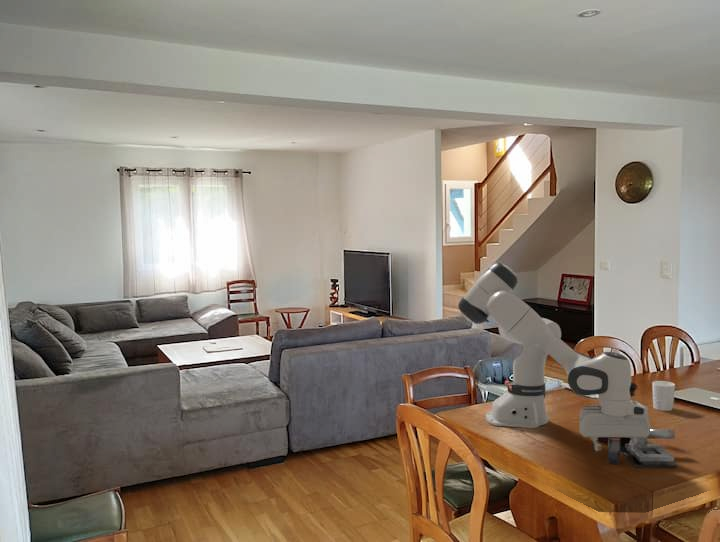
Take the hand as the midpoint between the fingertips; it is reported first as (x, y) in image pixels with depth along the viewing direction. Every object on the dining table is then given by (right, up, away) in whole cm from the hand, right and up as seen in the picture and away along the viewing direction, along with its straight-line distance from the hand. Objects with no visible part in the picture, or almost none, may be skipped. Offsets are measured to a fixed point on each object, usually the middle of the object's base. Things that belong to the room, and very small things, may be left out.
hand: (613, 450), depth 181 cm
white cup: (+41, +1, +51) cm, 65 cm away
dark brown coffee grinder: (+10, -2, +22) cm, 24 cm away
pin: (0, -4, 0) cm, 4 cm away
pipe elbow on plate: (+13, -3, +4) cm, 14 cm away
